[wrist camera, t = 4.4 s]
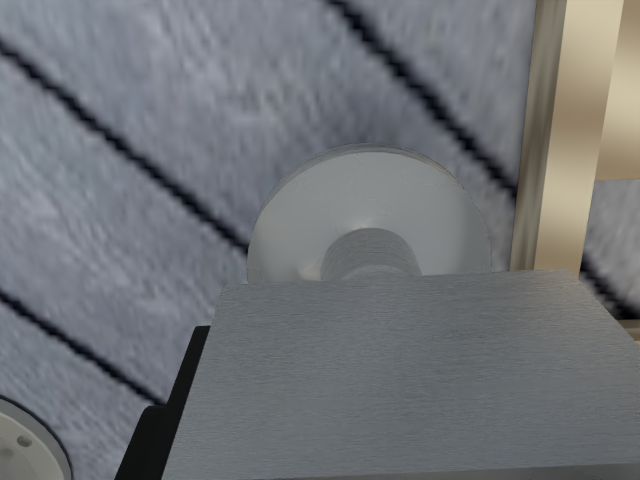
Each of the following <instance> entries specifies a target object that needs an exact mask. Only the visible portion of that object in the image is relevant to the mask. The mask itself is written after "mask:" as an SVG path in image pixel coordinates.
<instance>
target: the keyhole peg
mask: <svg viewBox="0 0 640 480" xmlns="http://www.w3.org/2000/svg"><path fill="white" fill-rule="evenodd" d="M491 267H492V251H491V244H490V237H489V234H488V231H487V227H486V224H485V222H484V220H483V218H482V216H481V213H480V211H479V210H478V208H477V207H476V205H475V204H474V202H473V201H472V199H471V198H470V196H469V195H468V194H467V192H466V191H465V190H464V188H463V187H462V186H461V184H460V183H459V182H458V181H457V180H456V179H455V178H454V177H453V176H452V175H451V173H449V172H448V171H447V170H446V169H445V168H443V167H442V166H441V165H440V164H438V163H437V162H435V161H433V160H432V159H430V158H428V157H427V156H425V155H423V154H420V153H418V152H416V151H414V150H411V149H408V148H404V147H401V146H397V145H391V144H384V143H356V144H348V145H343V146H339V147H335V148H331V149H329V150H326V151H324V152H321V153H319V154H316V155H314V156H312V157H311V158H309V159H307V160H305V161H303V162H302V163H300V164H299V165H298V166H296V167H295V168H294V169H292V170H291V171H289V172H288V173H287V174H286V175H285V176H284V177H283V178H282V179H281V180H280V181H279V182H278V183H277V185H276V186H275V187H274V188H273V190H272V191H271V192H270V193H269V195H268V197H267V198H266V200H265V202H264V203H263V205H262V207H261V209H260V212H259V214H258V217H257V219H256V222H255V226H254V230H253V233H252V237H251V241H250V245H249V249H248V257H247V279H248V284H242V285H224V287H223V290H222V293H221V296H220V299H219V302H218V305H217V308H216V311H215V314H214V318H213V321H212V324H211V327H210V330H209V333H208V336H207V339H206V342H205V345H204V349H203V352H202V355H201V358H200V361H199V364H198V367H197V370H196V373H195V377H194V380H193V383H192V386H191V389H190V392H189V395H188V398H187V401H186V404H185V408H184V411H183V414H182V417H181V420H180V423H179V426H178V429H177V432H176V435H175V439H174V442H173V445H172V448H171V451H170V454H169V457H168V460H167V463H166V466H165V470H164V473H163V476H162V479H161V480H640V346H639V345H638V344H637V342H636V341H635V340H634V339H633V338H632V337H631V336H630V335H629V334H628V333H627V332H626V330H625V329H624V328H623V327H622V326H621V325H620V324H619V323H618V322H617V321H616V320H615V319H614V317H613V316H612V315H611V314H610V313H609V312H608V311H607V310H606V309H605V308H604V307H603V305H602V304H601V303H600V302H599V301H598V300H597V299H596V298H595V297H594V296H593V295H592V293H591V292H590V291H589V290H588V289H587V288H586V287H585V286H584V285H583V284H582V283H581V282H580V280H579V279H578V278H577V277H576V276H575V275H574V274H573V273H572V272H571V271H570V270H569V268H563V269H543V270H523V271H503V272H491Z"/></svg>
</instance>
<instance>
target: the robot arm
mask: <svg viewBox="0 0 640 480" xmlns="http://www.w3.org/2000/svg"><path fill="white" fill-rule="evenodd" d="M210 327H211V326H197V327H195V329H194V332H193V334H192V337H191V340H190V342H189V345H188V348H187V351H186V353H185V356H184V359H183V361H182V364H181V367H180V370H179V372H178V375H177V378H176V380H175V383H174V386H173V389H172V391H171V394H170V397H169V400H168V402H167V405H158V406H148V407H147V408H145V409H144V411H143V413H142V415H141V417H140V419H139V422H138V424H137V426H136V429H135V431H134V433H133V436H132V438H131V441H130V443H129V445H128V448H127V450H126V453H125V455H124V457H123V460H122V462H121V464H120V467H119V469H118V472H117V474H116V476H115V479H114V480H161V479H162V476H163V473H164V470H165V466H166V463H167V460H168V457H169V454H170V451H171V448H172V445H173V442H174V439H175V435H176V432H177V429H178V426H179V423H180V420H181V417H182V414H183V411H184V408H185V404H186V401H187V398H188V395H189V392H190V389H191V386H192V383H193V380H194V377H195V373H196V370H197V367H198V364H199V361H200V358H201V355H202V352H203V349H204V345H205V342H206V339H207V336H208V333H209V330H210ZM0 480H71V470H70V467H69V464H68V461H67V458H66V456H65V454H64V452H63V451H62V449H61V447H60V446H59V444H58V442H57V441H56V440H55V439H54V438H53V436H52V435H51V434H50V433H49V432H48V431H47V429H46V428H45V427H44V426H42V425H41V424H40V423H39V422H38V421H36V420H35V419H34V418H33V417H32V416H30V415H29V414H28V413H26V412H24V411H23V410H21V409H19V408H18V407H16V406H15V405H13V404H11V403H9V402H7V401H4V400H2V399H0Z"/></svg>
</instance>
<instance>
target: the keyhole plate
mask: <svg viewBox="0 0 640 480" xmlns="http://www.w3.org/2000/svg"><path fill="white" fill-rule="evenodd" d="M628 179H640V0H537V6H536V16H535V26H534V36H533V45H532V55H531V65H530V75H529V84H528V94H527V104H526V113H525V123H524V133H523V143H522V152H521V162H520V172H519V181H518V191H517V201H516V211H515V220H514V230H513V240H512V249H511V259H510V269H509V271H523V270H543V269H563V268H569V270H570V271H571V272H572V273H573V274H574V275H575V276H576V277H577V278H578V277H579V271H580V265H581V259H582V253H583V247H584V241H585V234H586V228H587V222H588V216H589V210H590V204H591V198H592V192H593V186H594V181H605V180H628ZM616 321H617V322H618V323H619V324H620V325H621V326H622V327H623V328H624V329H625V330H626V332H627V333H628V334H629V335H630V336H631V337H632V338H633V339H634V340H635V341H636V342H637V344H638V345H639V346H640V319H638V320H616Z"/></svg>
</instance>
